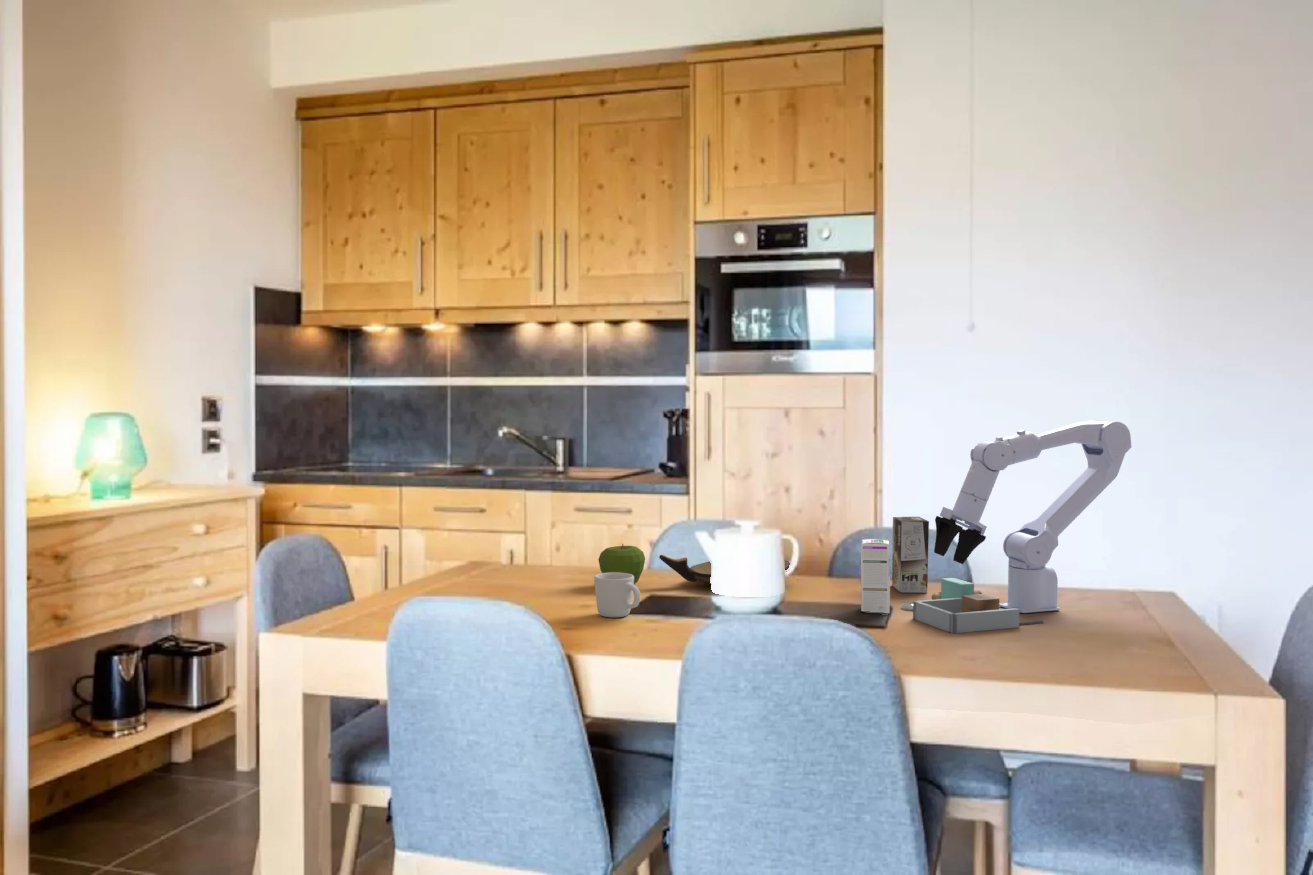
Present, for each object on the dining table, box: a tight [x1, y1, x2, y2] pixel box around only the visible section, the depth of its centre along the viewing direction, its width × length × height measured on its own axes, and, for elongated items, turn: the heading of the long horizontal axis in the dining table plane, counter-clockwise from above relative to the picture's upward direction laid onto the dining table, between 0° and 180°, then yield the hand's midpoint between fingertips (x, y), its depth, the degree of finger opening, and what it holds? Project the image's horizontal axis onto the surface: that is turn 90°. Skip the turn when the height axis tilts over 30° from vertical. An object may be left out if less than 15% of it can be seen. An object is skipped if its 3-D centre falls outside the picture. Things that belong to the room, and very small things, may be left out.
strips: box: [1019, 619, 1044, 626], centre depth 211 cm, size 6×10×1 cm, turn 20°
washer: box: [901, 601, 913, 612], centre depth 221 cm, size 4×4×1 cm
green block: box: [940, 577, 975, 599], centre depth 220 cm, size 3×7×6 cm, turn 20°
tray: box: [912, 598, 1020, 634], centre depth 207 cm, size 15×13×4 cm
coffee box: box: [891, 516, 930, 594], centre depth 241 cm, size 9×6×16 cm
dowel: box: [930, 589, 983, 600], centre depth 228 cm, size 12×2×2 cm, turn 110°
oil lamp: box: [658, 554, 791, 585], centre depth 246 cm, size 22×30×8 cm
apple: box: [597, 543, 646, 585], centre depth 242 cm, size 11×10×10 cm
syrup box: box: [860, 538, 891, 614], centre depth 217 cm, size 6×6×14 cm
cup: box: [593, 572, 641, 619], centre depth 211 cm, size 11×8×8 cm
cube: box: [962, 593, 1000, 613], centre depth 208 cm, size 5×5×5 cm
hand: (948, 558), depth 218 cm, fingers open, 7 cm apart
